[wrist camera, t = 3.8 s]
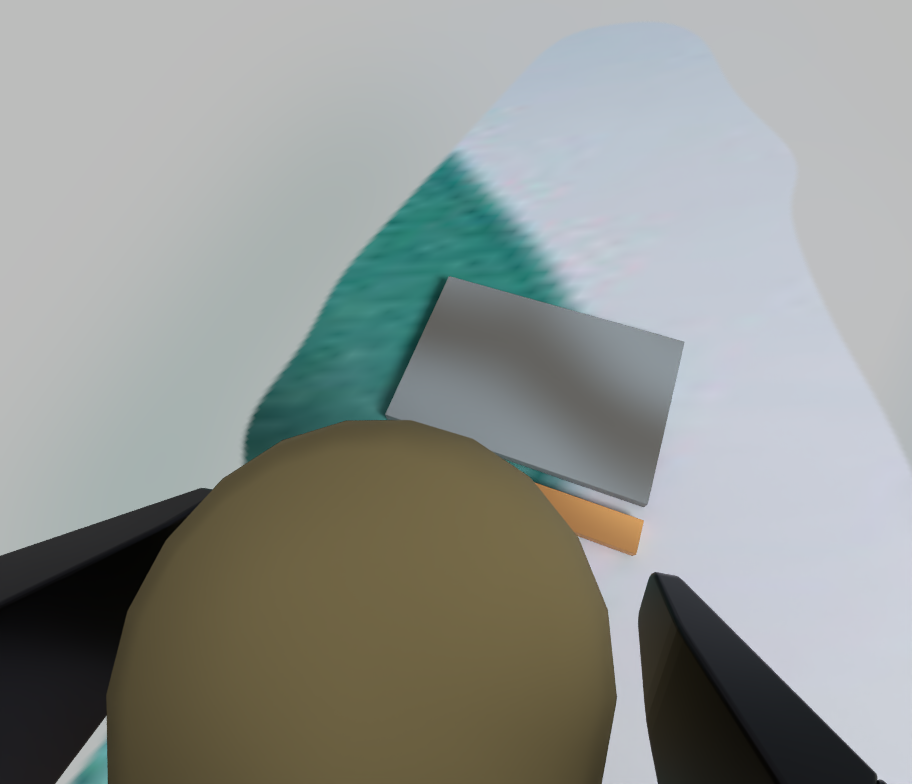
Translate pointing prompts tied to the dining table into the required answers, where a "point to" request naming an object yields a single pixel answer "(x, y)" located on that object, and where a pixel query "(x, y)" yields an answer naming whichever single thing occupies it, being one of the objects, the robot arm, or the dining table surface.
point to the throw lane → (547, 397)
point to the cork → (366, 625)
